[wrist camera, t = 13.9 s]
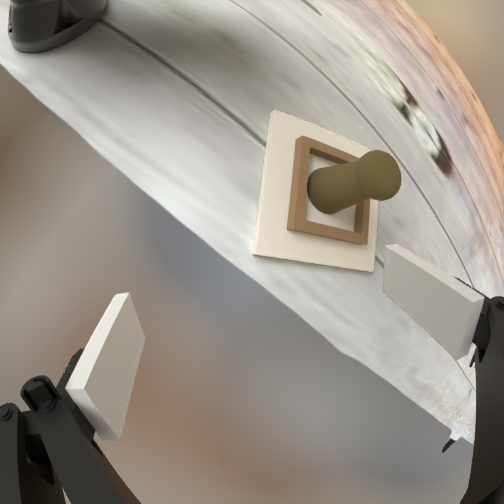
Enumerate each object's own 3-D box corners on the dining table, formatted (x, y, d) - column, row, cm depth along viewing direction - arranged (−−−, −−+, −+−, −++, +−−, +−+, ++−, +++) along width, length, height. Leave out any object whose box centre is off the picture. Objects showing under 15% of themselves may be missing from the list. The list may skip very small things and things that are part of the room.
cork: (325, 159, 35) (386, 132, 25) (351, 194, 37) (415, 179, 27) (297, 186, 34) (360, 162, 23) (327, 224, 35) (394, 214, 25)
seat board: (270, 113, 34) (285, 98, 30) (373, 155, 40) (392, 148, 36) (252, 254, 33) (268, 254, 29) (367, 271, 39) (388, 272, 35)
